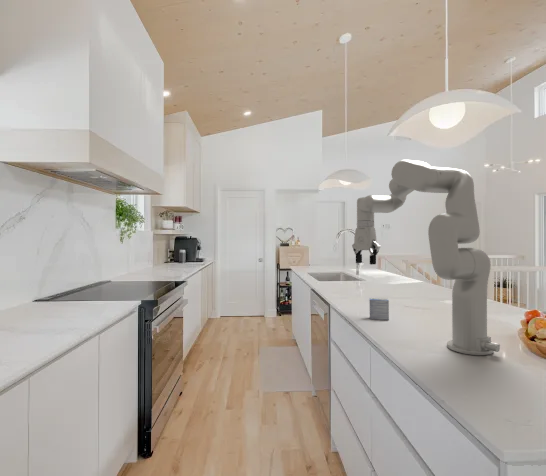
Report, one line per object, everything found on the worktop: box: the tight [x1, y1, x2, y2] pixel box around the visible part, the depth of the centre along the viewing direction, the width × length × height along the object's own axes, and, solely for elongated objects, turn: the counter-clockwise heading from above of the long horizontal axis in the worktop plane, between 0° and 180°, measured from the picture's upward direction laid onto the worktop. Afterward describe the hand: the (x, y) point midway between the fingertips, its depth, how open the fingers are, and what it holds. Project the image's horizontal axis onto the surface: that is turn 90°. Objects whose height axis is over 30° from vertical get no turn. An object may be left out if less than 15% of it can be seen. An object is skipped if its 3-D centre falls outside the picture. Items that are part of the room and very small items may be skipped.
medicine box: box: [369, 297, 390, 321], centre depth 151 cm, size 8×4×9 cm, turn 74°
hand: (365, 263), depth 158 cm, fingers open, 8 cm apart
